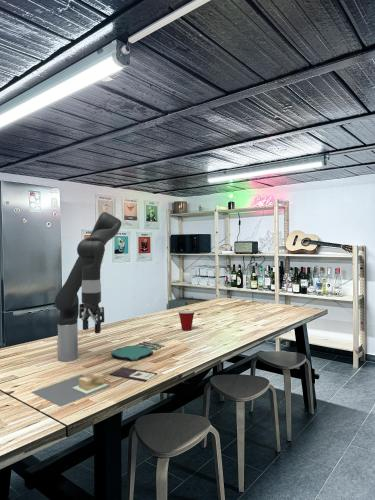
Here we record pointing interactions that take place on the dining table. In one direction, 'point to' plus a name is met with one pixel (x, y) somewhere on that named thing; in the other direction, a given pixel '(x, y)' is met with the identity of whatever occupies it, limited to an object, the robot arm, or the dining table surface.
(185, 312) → the plastic cup
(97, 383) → the oak block
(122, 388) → the dining table surface
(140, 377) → the chocolate bar
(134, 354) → the table tennis paddle
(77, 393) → the rubber mat
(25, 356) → the dining table surface
